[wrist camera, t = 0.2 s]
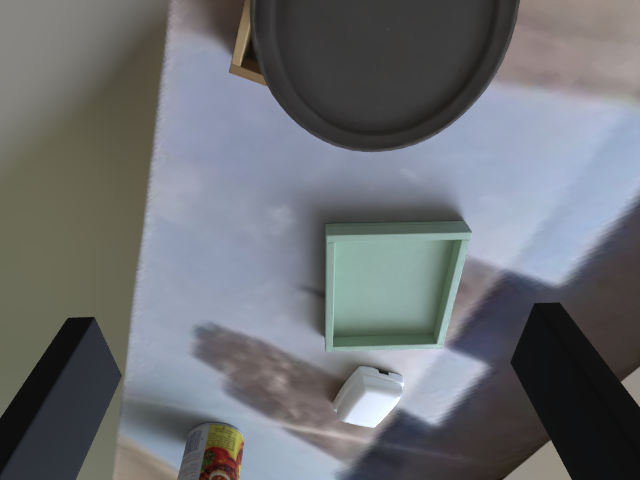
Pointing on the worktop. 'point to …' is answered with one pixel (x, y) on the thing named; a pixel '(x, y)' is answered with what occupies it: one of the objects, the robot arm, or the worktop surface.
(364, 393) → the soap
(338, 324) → the tray
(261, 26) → the coffee can
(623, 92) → the worktop surface
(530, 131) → the worktop surface
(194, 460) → the canned food
